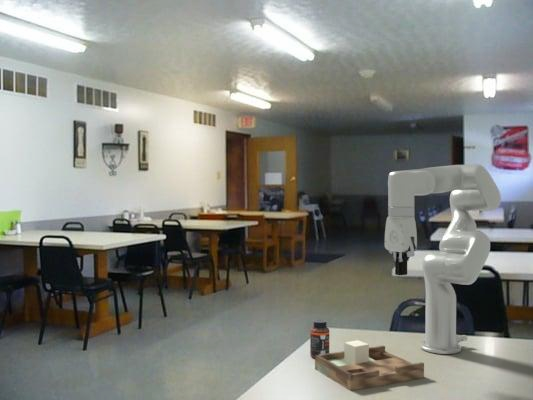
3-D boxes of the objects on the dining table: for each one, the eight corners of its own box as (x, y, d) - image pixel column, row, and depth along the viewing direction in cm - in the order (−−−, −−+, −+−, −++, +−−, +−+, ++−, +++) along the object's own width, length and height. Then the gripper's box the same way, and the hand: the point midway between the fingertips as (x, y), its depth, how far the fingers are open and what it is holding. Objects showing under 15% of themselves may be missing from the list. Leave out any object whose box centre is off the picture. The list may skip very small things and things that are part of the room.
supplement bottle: (328, 360, 171) (328, 323, 171) (309, 359, 172) (309, 322, 172) (330, 354, 177) (330, 319, 177) (311, 353, 178) (311, 318, 178)
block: (357, 356, 166) (357, 340, 166) (368, 361, 162) (368, 344, 162) (344, 359, 164) (344, 342, 164) (354, 364, 159) (355, 346, 159)
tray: (383, 358, 173) (383, 345, 173) (423, 377, 156) (424, 363, 155) (315, 368, 163) (315, 355, 163) (350, 390, 146) (350, 375, 146)
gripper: (375, 212, 171) (375, 272, 171) (407, 214, 157) (407, 279, 157) (396, 211, 174) (396, 270, 174) (428, 213, 160) (428, 277, 160)
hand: (401, 274), depth 166 cm, fingers closed
